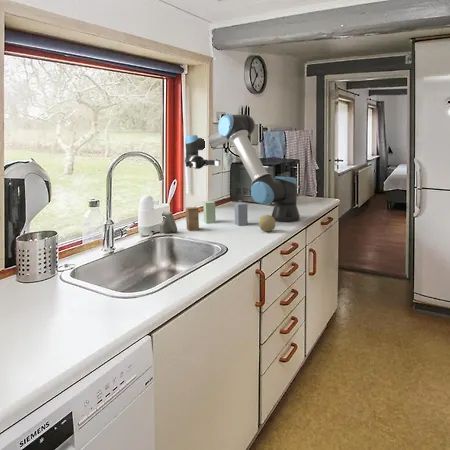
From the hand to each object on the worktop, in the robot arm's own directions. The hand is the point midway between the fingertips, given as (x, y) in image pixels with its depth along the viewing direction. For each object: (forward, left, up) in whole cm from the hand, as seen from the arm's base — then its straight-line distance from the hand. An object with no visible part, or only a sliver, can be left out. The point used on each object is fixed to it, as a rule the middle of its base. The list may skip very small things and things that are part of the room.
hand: (207, 164), depth 242 cm
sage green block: (-7, +9, -30) cm, 32 cm away
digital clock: (0, +37, -30) cm, 48 cm away
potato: (-45, +12, -30) cm, 56 cm away
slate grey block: (-26, +5, -30) cm, 40 cm away
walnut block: (-11, +27, -30) cm, 42 cm away
